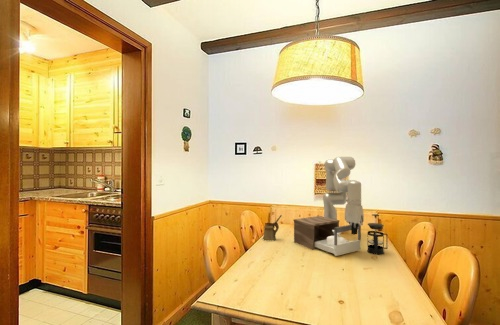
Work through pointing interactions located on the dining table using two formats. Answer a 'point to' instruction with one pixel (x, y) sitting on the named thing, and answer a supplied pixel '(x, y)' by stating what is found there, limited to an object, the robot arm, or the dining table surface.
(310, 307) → the dining table surface
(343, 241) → the white tied sack
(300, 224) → the walnut cabinet
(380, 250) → the french press
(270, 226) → the wooden mug
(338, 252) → the pull-out tray
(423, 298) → the dining table surface
